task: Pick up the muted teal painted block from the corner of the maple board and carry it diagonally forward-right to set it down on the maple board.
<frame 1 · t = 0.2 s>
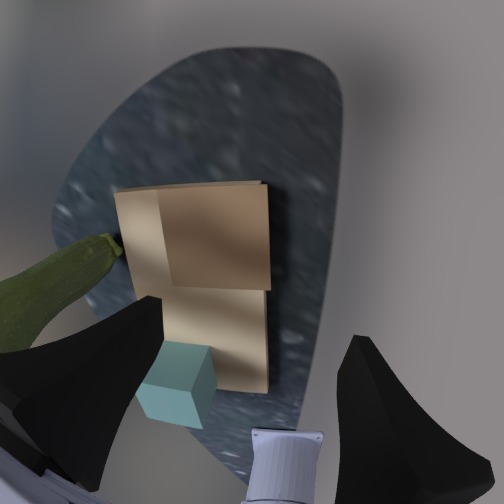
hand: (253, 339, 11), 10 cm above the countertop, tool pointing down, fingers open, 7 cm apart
teal block: (186, 363, 24), point 1 cm above the countertop, touching maple board
maple board: (201, 300, 23), on the countertop
vegetable: (108, 239, 22), on the countertop
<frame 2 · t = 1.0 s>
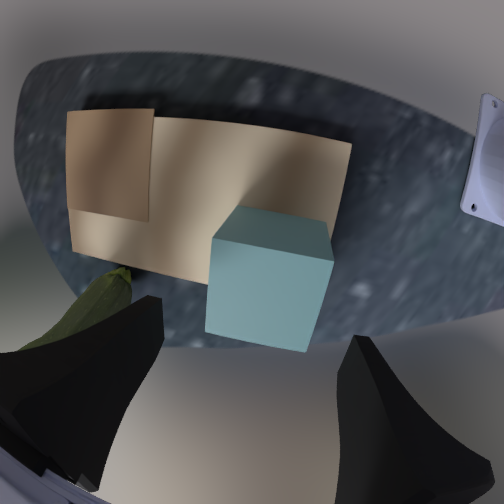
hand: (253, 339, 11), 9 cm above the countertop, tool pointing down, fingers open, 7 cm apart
teal block: (274, 253, 17), point 1 cm above the countertop, touching maple board
maple board: (185, 198, 18), on the countertop
vegetable: (124, 282, 22), on the countertop
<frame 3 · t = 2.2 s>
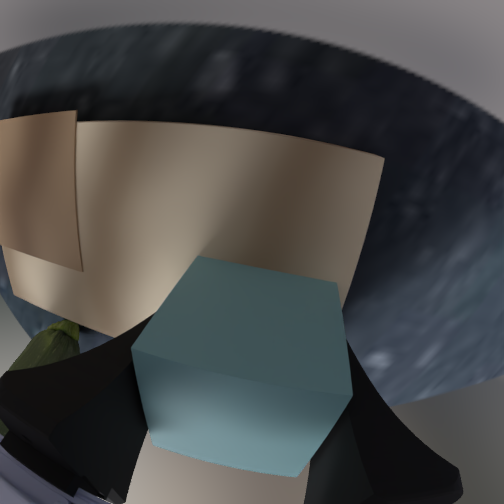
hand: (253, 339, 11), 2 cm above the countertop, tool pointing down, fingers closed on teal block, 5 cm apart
teal block: (256, 325, 11), point 1 cm above the countertop, touching gripper, maple board
maple board: (130, 238, 12), on the countertop
vegetable: (76, 332, 16), on the countertop
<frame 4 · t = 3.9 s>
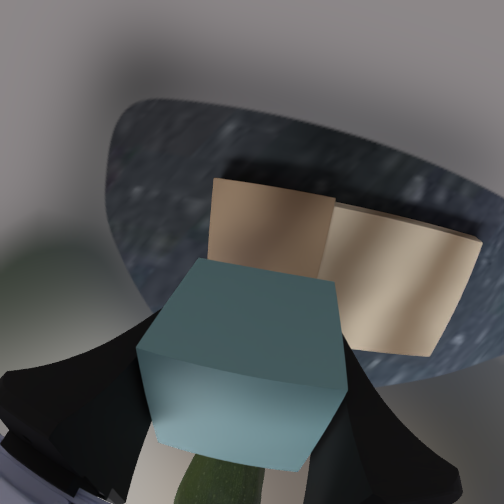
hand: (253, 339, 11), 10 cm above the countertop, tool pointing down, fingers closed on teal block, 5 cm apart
teal block: (257, 324, 12), point 8 cm above the countertop, touching gripper
maple board: (343, 278, 19), on the countertop
vegetable: (256, 345, 23), on the countertop
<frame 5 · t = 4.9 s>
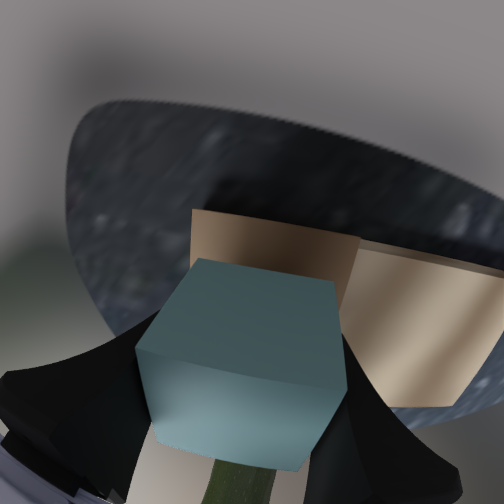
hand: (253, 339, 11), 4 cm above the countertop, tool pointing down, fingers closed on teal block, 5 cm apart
teal block: (256, 324, 12), point 3 cm above the countertop, touching gripper
maple board: (362, 330, 15), on the countertop
vegetable: (254, 398, 19), on the countertop
when the fingers open (3 cm above the countertop, at t = 5.7 s): teal block stays where it is, resting on maple board.
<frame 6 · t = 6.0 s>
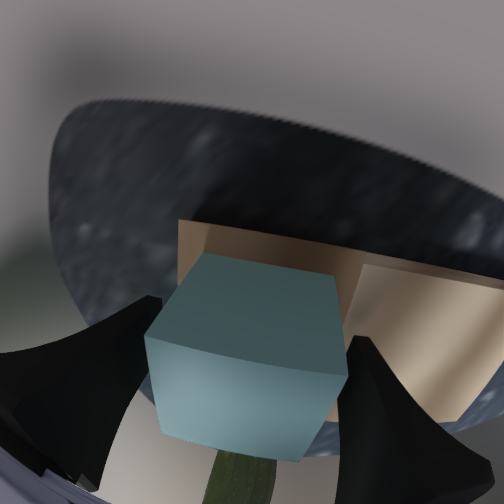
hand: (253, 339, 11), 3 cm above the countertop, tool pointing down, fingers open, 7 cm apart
teal block: (259, 317, 12), point 1 cm above the countertop, touching maple board
maple board: (365, 348, 14), on the countertop
vegetable: (250, 414, 17), on the countertop
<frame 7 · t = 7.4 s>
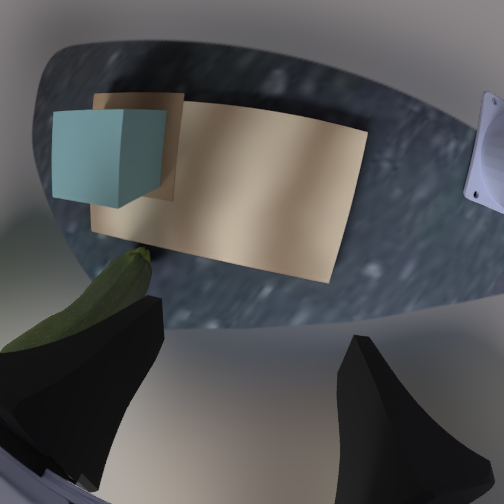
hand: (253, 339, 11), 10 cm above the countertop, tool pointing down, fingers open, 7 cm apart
teal block: (129, 146, 18), point 1 cm above the countertop, touching maple board
maple board: (209, 179, 19), on the countertop
vegetable: (142, 262, 23), on the countertop
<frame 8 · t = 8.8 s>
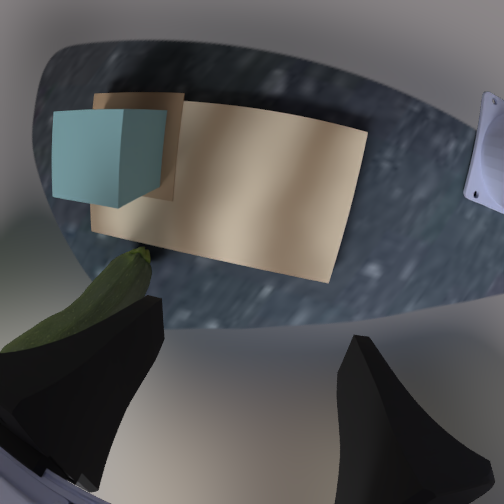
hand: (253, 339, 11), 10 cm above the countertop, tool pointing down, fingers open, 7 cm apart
teal block: (129, 145, 18), point 1 cm above the countertop, touching maple board
maple board: (209, 179, 19), on the countertop
vegetable: (142, 262, 23), on the countertop
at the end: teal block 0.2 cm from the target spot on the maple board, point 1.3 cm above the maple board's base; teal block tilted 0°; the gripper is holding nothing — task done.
